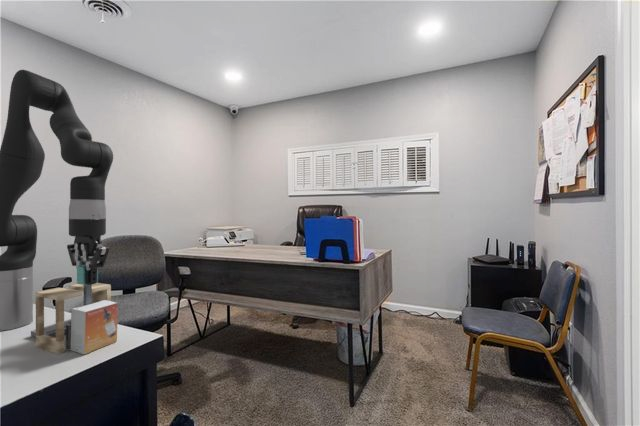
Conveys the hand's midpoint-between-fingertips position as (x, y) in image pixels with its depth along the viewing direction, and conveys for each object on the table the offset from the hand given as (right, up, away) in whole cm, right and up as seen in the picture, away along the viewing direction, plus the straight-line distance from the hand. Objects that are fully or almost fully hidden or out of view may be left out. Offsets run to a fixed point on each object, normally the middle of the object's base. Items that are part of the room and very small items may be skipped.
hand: (87, 283), depth 75 cm
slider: (0, -16, 0) cm, 16 cm away
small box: (+3, -16, -1) cm, 16 cm away
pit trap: (-14, -16, +7) cm, 22 cm away
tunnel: (-5, -16, +2) cm, 17 cm away
